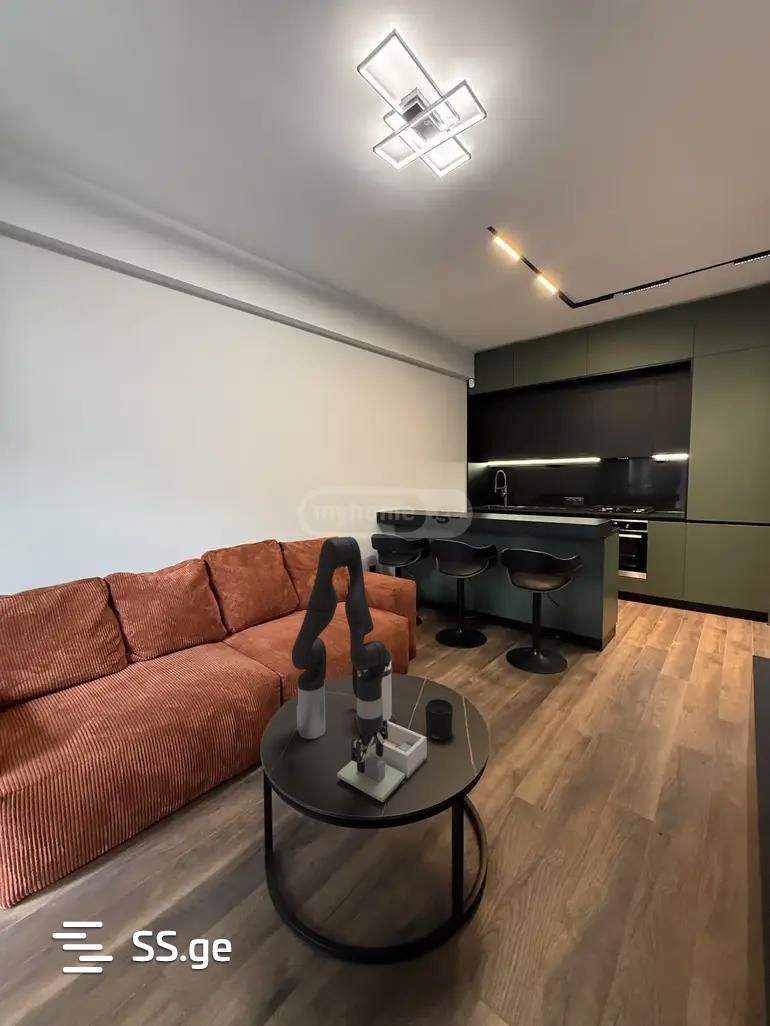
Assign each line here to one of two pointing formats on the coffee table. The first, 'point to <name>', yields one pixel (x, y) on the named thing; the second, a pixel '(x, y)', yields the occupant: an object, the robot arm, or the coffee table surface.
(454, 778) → the coffee table surface
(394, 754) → the storage box
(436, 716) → the pen holder
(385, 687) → the coffee press
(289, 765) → the coffee table surface
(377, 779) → the lid
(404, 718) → the coffee table surface
